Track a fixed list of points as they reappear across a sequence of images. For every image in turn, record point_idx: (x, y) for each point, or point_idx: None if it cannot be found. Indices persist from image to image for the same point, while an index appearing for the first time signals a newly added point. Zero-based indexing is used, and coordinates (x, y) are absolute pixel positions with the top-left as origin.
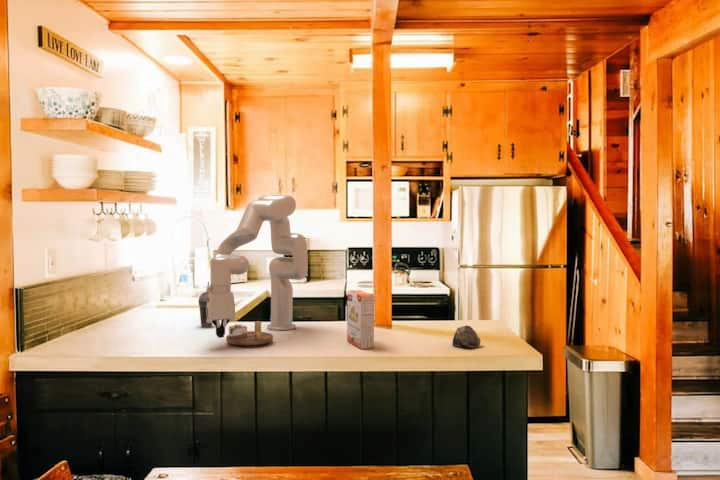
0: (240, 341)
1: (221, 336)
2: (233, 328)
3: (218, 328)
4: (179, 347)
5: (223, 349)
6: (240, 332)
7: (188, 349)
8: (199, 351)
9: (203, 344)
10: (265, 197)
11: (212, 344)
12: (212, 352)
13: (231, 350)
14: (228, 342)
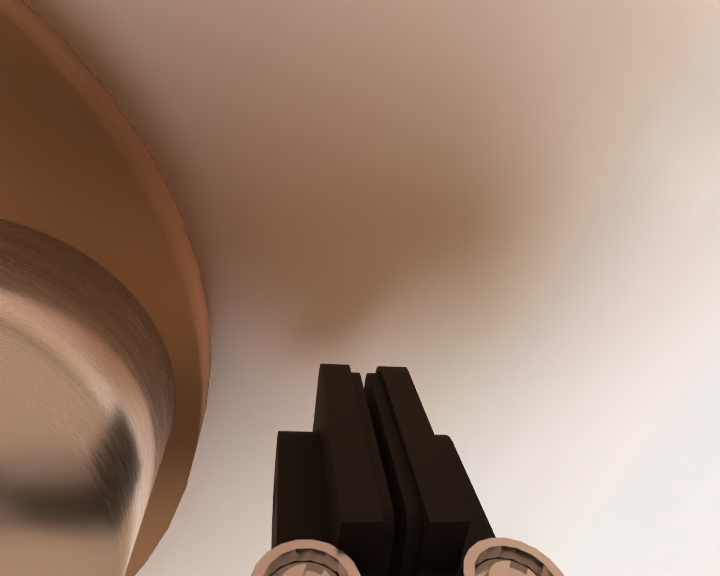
0: (41, 47)
1: (370, 378)
2: (15, 475)
3: (469, 538)
4: (715, 524)
5: (380, 158)
6: None
7: (713, 404)
8: (694, 242)
9: None
10: None
11: None
12: (610, 73)
13: (303, 4)
14: (208, 345)
